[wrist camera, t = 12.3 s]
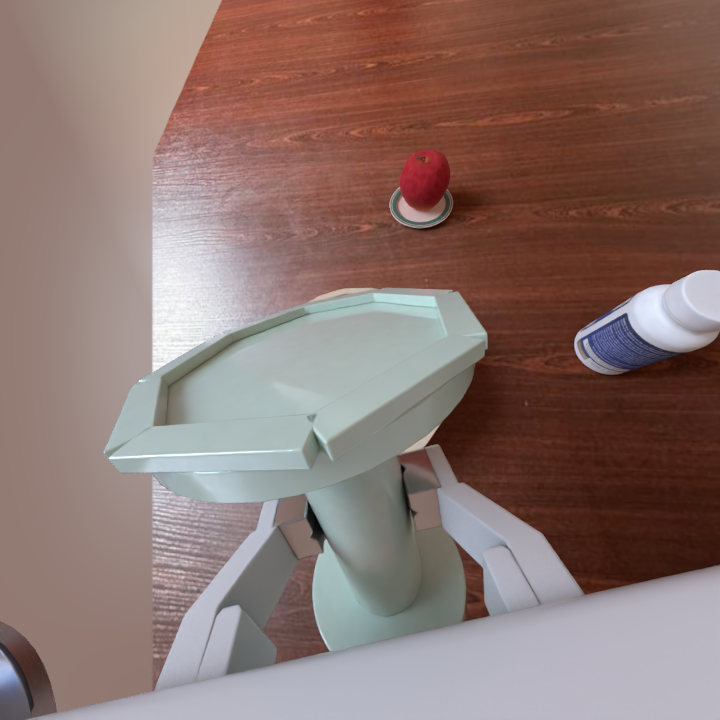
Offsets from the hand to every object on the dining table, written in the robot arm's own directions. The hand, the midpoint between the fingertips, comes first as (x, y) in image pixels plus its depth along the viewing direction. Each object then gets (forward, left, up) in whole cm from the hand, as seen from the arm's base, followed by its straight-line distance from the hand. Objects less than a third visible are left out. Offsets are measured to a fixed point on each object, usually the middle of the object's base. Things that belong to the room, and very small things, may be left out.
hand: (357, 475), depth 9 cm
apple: (+5, +31, -16) cm, 36 cm away
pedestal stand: (+1, -4, -3) cm, 5 cm away
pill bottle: (+22, +11, -16) cm, 30 cm away
